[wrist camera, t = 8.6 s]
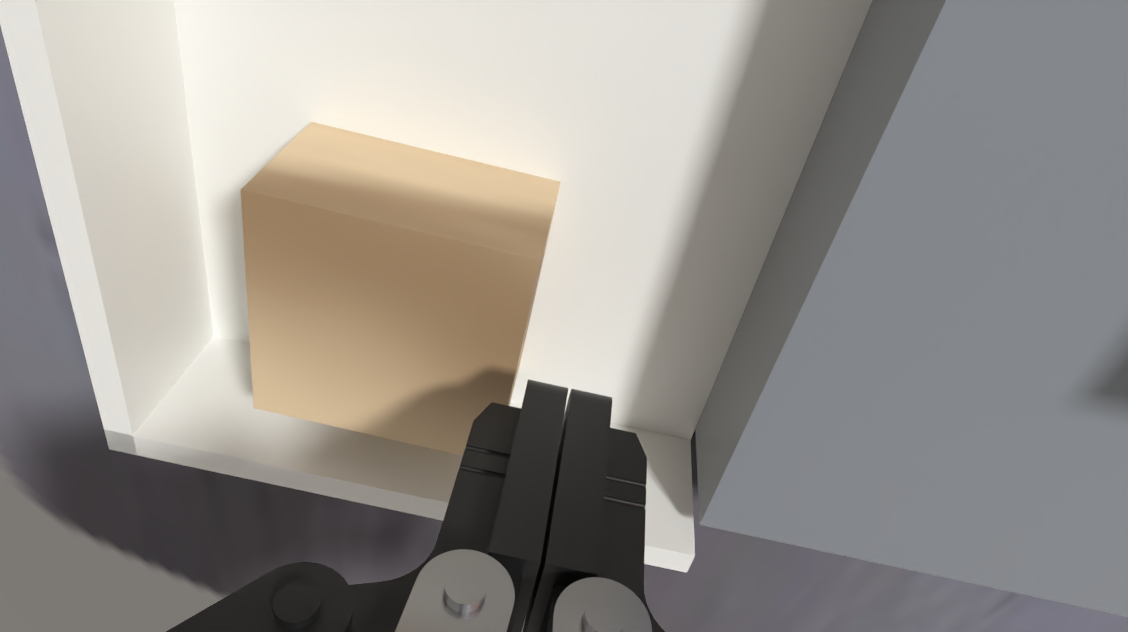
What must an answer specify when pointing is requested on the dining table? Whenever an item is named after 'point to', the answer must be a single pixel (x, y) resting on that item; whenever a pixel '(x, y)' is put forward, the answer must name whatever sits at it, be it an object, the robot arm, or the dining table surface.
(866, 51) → the board
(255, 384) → the thick tan wooden block
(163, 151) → the tray
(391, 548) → the dining table surface
